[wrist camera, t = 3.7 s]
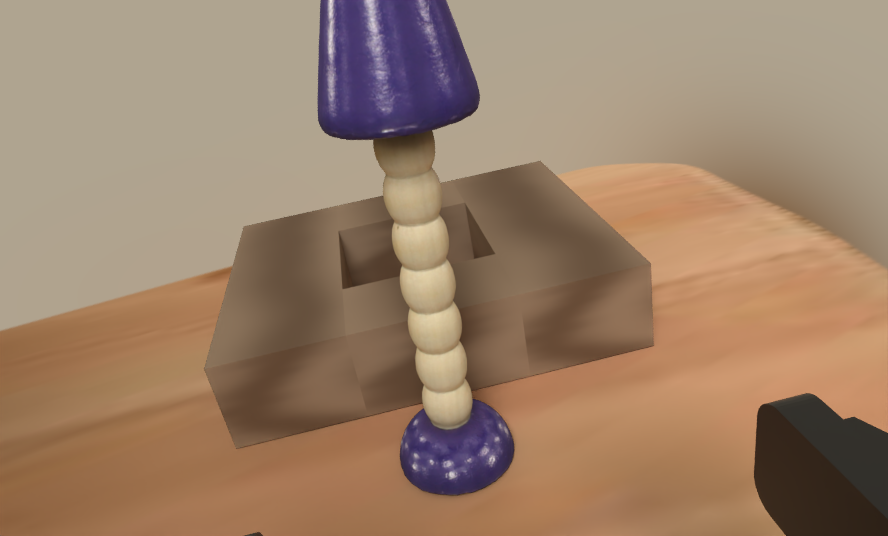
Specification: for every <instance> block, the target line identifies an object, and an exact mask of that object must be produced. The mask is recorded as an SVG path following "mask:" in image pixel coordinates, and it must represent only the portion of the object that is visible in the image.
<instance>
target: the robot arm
mask: <svg viewBox="0 0 888 536" xmlns="http://www.w3.org/2000/svg"><path fill="white" fill-rule="evenodd" d="M754 479H755V485H756V488H757V492H758V494H759V497H760V499H761V501H762V503H763V505H764V507H765V509H766V510H767V512H768V513H769V515H770V516H771V517H772V519H773V520H774V521H775V522H776V524H777V525H778V526H779V527H780V529H781V530H782V531H783V532H784V534H785V535H786V536H888V433H887V432H884V431H882V430H880V429H878V428H876V427H874V426H872V425H870V424H868V423H866V422H864V421H862V420H860V419H857V418H855V417H851V418H847V419H844V420H843V419H842V418H841V417H840V416H839V415H838V414H836V413H835V412H834V411H833V410H832V409H831V408H830V407H829V406H827V405H826V404H825V403H824V402H823V401H822V400H821V399H819V398H818V397H817V396H815V395H813V394H810V393H806V394H802V395H798V396H794V397H790V398H786V399H782V400H778V401H775V402H771V403H767V404H763V405H762V406H760V408H759V410H758V414H757V429H756V447H755V466H754ZM245 536H263V535H262V534H261V533H260V532H257V533H253V534H249V535H245Z"/></svg>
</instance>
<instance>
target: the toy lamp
mask: <svg viewBox="0 0 888 536" xmlns="http://www.w3.org/2000/svg"><path fill="white" fill-rule="evenodd" d="M479 101H480V94H479V89H478V86H477V81H476V79H475V76H474V73H473V71H472V68H471V65H470V62H469V59H468V57H467V54H466V52H465V49H464V47H463V44H462V41H461V38H460V35H459V32H458V30H457V27H456V24H455V22H454V19H453V17H452V14H451V12H450V9H449V6H448V4H447V1H446V0H321V4H320V35H319V66H318V121H319V124H320V126H321V128H322V130H323V131H324V132H325V133H326V134H328V135H329V136H332V137H337V138H340V139H346V140H373V145H374V152H375V156H376V159H377V160H378V163H379V165H380V167H381V168H382V169H383V170H384V172H385V173H386V176H385V179H384V183H383V197H384V202H385V205H386V208H387V210H388V212H389V214H390V216H391V217H392V218H393V219H394V224H393V228H392V243H393V248H394V251H395V254H396V256H397V258H398V259H399V261H400V262H401V264H402V267H401V272H400V286H401V291H402V295H403V297H404V299H405V301H406V303H407V304H408V306H409V307H410V309H409V314H408V329H409V333H410V336H411V338H412V340H413V342H414V344H415V345H416V346H417V350H416V356H415V362H416V370H417V373H418V376H419V378H420V380H421V382H422V383H423V384H424V387H423V391H422V401H423V407H424V408H423V409H422V410H421V411H419V412H418V413H417V414H416V415H415V416H414V418H413V419H412V420H411V421H410V423H409V424H408V426H407V428H406V430H405V432H404V435H403V437H402V441H401V449H400V461H401V466H402V469H403V471H404V474H405V476H406V477H407V478H408V480H409V481H410V482H411V483H412V484H413V485H415V486H417V487H418V488H419V489H421V490H423V491H427V492H430V493H436V494H446V495H460V494H464V493H470V492H474V491H477V490H479V489H482V488H484V487H486V486H487V485H490V484H491V483H492V482H495V481H496V480H497V479H498V478H499V477H500V476H501V475H502V474H503V473H504V472H505V471H506V470H507V469H508V467H509V465H510V463H511V462H512V458H513V454H514V443H513V439H512V435H511V433H510V430H509V428H508V426H507V424H506V423H505V421H504V420H503V418H502V417H501V416H500V415H499V414H498V413H497V412H496V411H495V410H494V409H493V408H492V407H490V406H488V405H487V404H485V403H483V402H481V401H479V400H476V399H473V398H472V393H471V388H470V386H469V384H468V382H467V380H466V379H465V376H466V373H467V357H466V353H465V350H464V348H463V346H462V344H461V342H460V341H459V339H460V337H461V333H462V320H461V316H460V312H459V310H458V308H457V306H456V304H455V303H454V301H453V299H454V295H455V290H456V281H455V275H454V272H453V269H452V267H451V265H450V263H449V261H448V260H447V259H446V256H447V254H448V249H449V236H448V232H447V227H446V224H445V222H444V220H443V219H442V217H441V216H440V215H439V212H440V209H441V205H442V189H441V184H440V181H439V178H438V176H437V174H436V173H435V171H434V170H433V168H432V164H433V161H434V157H435V141H434V136H433V132H432V130H435V129H438V128H441V127H444V126H447V125H449V124H453V123H456V122H459V121H461V120H463V119H464V118H466V117H468V116H471V115H472V114H473V113H474V112H475V111H476V110H477V108H478V105H479Z"/></svg>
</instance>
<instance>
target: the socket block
mask: <svg viewBox="0 0 888 536" xmlns="http://www.w3.org/2000/svg"><path fill="white" fill-rule="evenodd" d="M440 184H441V189H442V205H441V209H440V212H439V215H440V216H441V217H442V219H443V220H444V222H445V224H446V227H447V232H448V236H449V249H448V254H447V256H446V259H447V260H448V261H449V263H450V265H451V267H452V269H453V272H454V275H455V281H456V290H455V295H454V299H453V301H454V303H455V304H456V306H457V308H458V310H459V312H460V316H461V320H462V333H461V337H460V339H459V341H460V342H461V344H462V346H463V348H464V350H465V353H466V357H467V373H466V376H465V379H466V380H467V382H468V384H469V386H470V388H471V391H472V390H476V389H480V388H484V387H488V386H492V385H496V384H500V383H504V382H508V381H512V380H516V379H520V378H524V377H529V376H533V375H537V374H541V373H545V372H549V371H553V370H557V369H561V368H565V367H569V366H573V365H577V364H581V363H585V362H589V361H593V360H597V359H601V358H606V357H610V356H614V355H618V354H622V353H626V352H630V351H634V350H638V349H642V348H646V347H650V346H654V341H653V312H652V283H651V263H650V262H649V261H648V260H647V259H646V258H645V257H643V256H642V255H641V254H640V253H639V252H638V251H637V250H636V249H635V248H634V247H633V246H632V245H630V244H629V243H628V242H627V241H626V240H625V239H624V238H623V237H622V236H621V235H620V234H619V233H618V232H616V231H615V230H614V229H613V228H612V227H611V226H610V225H609V224H608V223H607V222H606V221H605V220H603V219H602V218H601V217H600V216H599V215H598V214H597V213H596V212H595V211H594V210H593V209H592V208H591V207H589V206H588V205H587V204H586V203H585V202H584V201H583V200H582V199H581V198H580V197H579V196H578V195H577V194H575V193H574V192H573V191H572V190H571V189H570V188H569V187H568V186H567V185H566V184H565V183H564V182H562V181H561V180H560V179H559V178H558V177H557V176H556V175H555V174H554V173H553V172H552V171H551V170H549V169H548V168H547V167H546V166H545V165H544V164H543V163H542V162H541V161H538V162H534V163H529V164H525V165H520V166H515V167H511V168H507V169H502V170H497V171H492V172H488V173H483V174H479V175H475V176H470V177H465V178H461V179H456V180H452V181H447V182H443V183H440ZM393 224H394V219H393V218H392V217H391V216H390V214H389V212H388V210H387V208H386V205H385V202H384V197H383V196H380V197H375V198H370V199H366V200H361V201H357V202H352V203H348V204H344V205H339V206H334V207H330V208H325V209H321V210H317V211H312V212H307V213H303V214H298V215H294V216H289V217H284V218H280V219H276V220H271V221H266V222H262V223H257V224H253V225H249V226H245V227H244V228H243V231H242V235H241V238H240V242H239V246H238V249H237V253H236V256H235V260H234V264H233V267H232V271H231V274H230V278H229V281H228V285H227V289H226V292H225V296H224V299H223V303H222V307H221V310H220V314H219V317H218V321H217V324H216V328H215V332H214V335H213V339H212V342H211V346H210V350H209V353H208V357H207V360H206V364H205V367H204V370H205V373H206V375H207V378H208V380H209V383H210V385H211V387H212V390H213V392H214V395H215V397H216V400H217V402H218V405H219V407H220V410H221V412H222V415H223V417H224V420H225V422H226V425H227V427H228V429H229V432H230V434H231V437H232V439H233V442H234V444H235V447H236V449H237V448H241V447H245V446H249V445H253V444H257V443H261V442H265V441H269V440H273V439H277V438H281V437H285V436H289V435H293V434H298V433H302V432H306V431H310V430H314V429H318V428H322V427H326V426H330V425H334V424H338V423H342V422H346V421H350V420H354V419H358V418H362V417H366V416H370V415H375V414H379V413H383V412H387V411H391V410H395V409H399V408H403V407H407V406H411V405H415V404H419V403H423V401H422V391H423V387H424V384H423V383H422V382H421V380H420V378H419V376H418V373H417V370H416V362H415V356H416V350H417V346H416V345H415V344H414V342H413V340H412V338H411V336H410V333H409V329H408V314H409V309H410V307H409V306H408V304H407V303H406V301H405V299H404V297H403V295H402V291H401V286H400V272H401V267H402V264H401V262H400V261H399V259H398V258H397V256H396V254H395V251H394V248H393V243H392V228H393Z"/></svg>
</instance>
